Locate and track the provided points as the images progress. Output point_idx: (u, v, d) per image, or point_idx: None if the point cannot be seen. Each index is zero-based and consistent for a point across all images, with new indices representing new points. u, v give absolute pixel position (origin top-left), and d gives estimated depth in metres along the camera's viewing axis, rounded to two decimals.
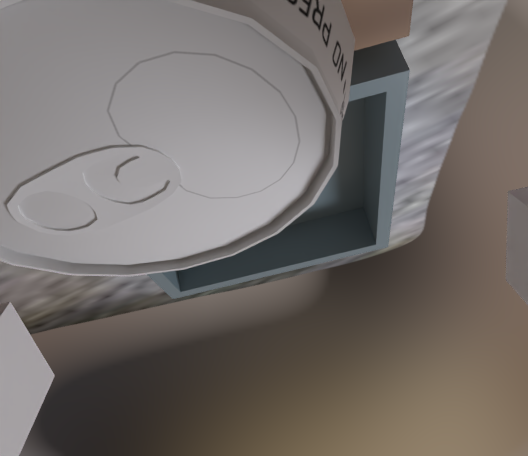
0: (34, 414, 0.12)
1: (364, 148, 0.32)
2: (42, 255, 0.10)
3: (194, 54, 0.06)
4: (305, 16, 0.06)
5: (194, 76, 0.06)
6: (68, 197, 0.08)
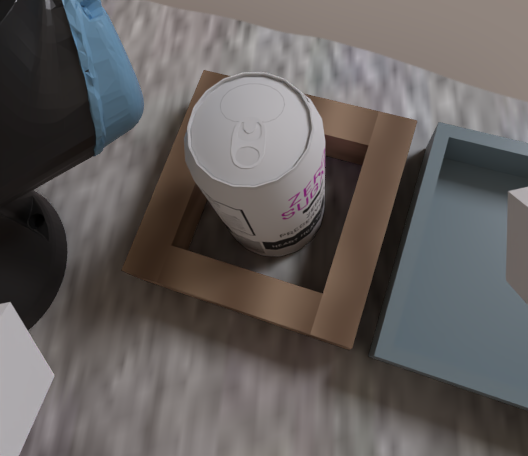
0: (34, 413, 0.12)
1: None
2: (262, 180, 0.25)
3: (226, 94, 0.27)
4: None
5: (231, 97, 0.27)
6: (244, 149, 0.26)
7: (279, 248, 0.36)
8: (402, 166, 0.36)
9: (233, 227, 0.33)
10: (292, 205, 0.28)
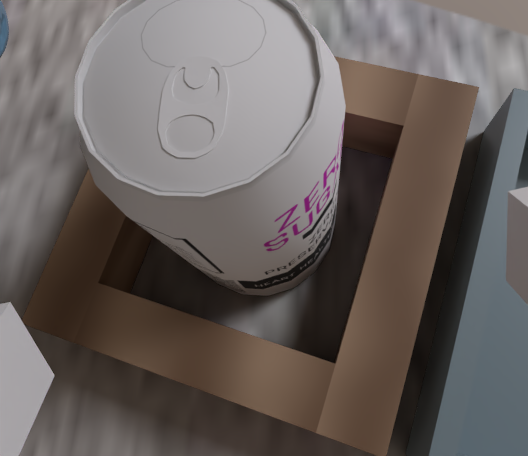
0: (34, 413, 0.12)
1: None
2: (219, 183, 0.12)
3: (153, 16, 0.14)
4: None
5: (163, 21, 0.14)
6: (184, 120, 0.13)
7: (266, 287, 0.23)
8: (458, 157, 0.23)
9: (187, 260, 0.20)
10: (283, 228, 0.15)
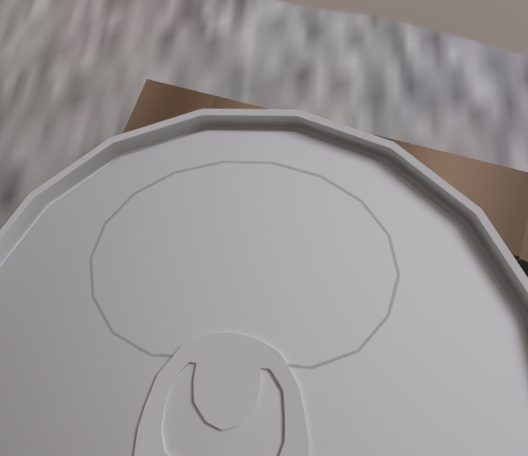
0: None
1: None
2: None
3: (121, 210, 0.06)
4: None
5: (143, 224, 0.06)
6: None
7: None
8: None
9: None
10: None
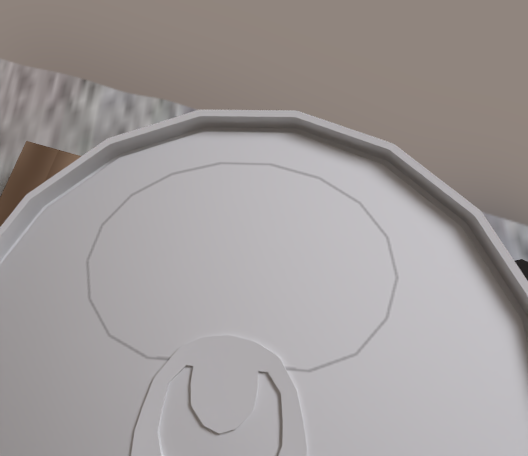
0: None
1: None
2: None
3: (117, 211, 0.06)
4: None
5: (139, 226, 0.06)
6: None
7: None
8: None
9: None
10: None
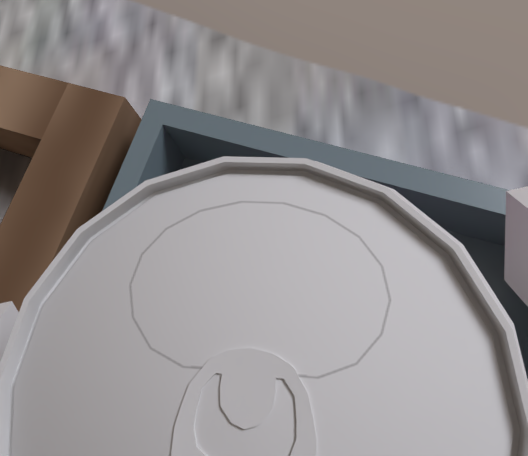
0: None
1: None
2: None
3: (155, 243, 0.07)
4: None
5: (174, 255, 0.07)
6: None
7: None
8: (87, 175, 0.21)
9: None
10: None
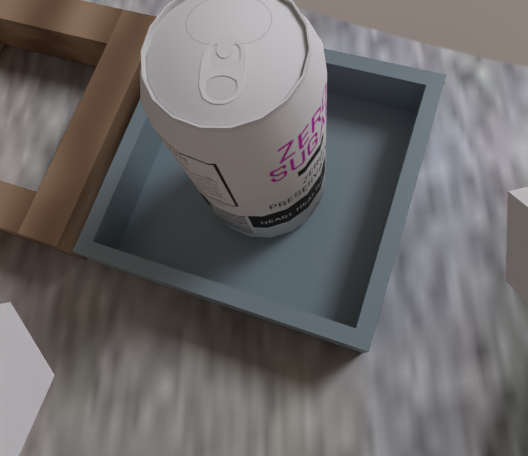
0: (34, 413, 0.12)
1: None
2: (241, 119, 0.18)
3: (194, 9, 0.20)
4: None
5: (200, 12, 0.20)
6: (216, 79, 0.19)
7: (270, 226, 0.29)
8: (137, 63, 0.34)
9: (210, 196, 0.26)
10: (283, 160, 0.21)
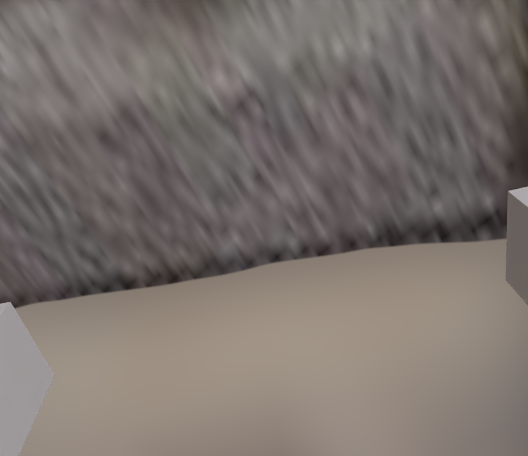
0: (34, 413, 0.12)
1: None
2: None
3: None
4: None
5: None
6: None
7: None
8: None
9: None
10: None
